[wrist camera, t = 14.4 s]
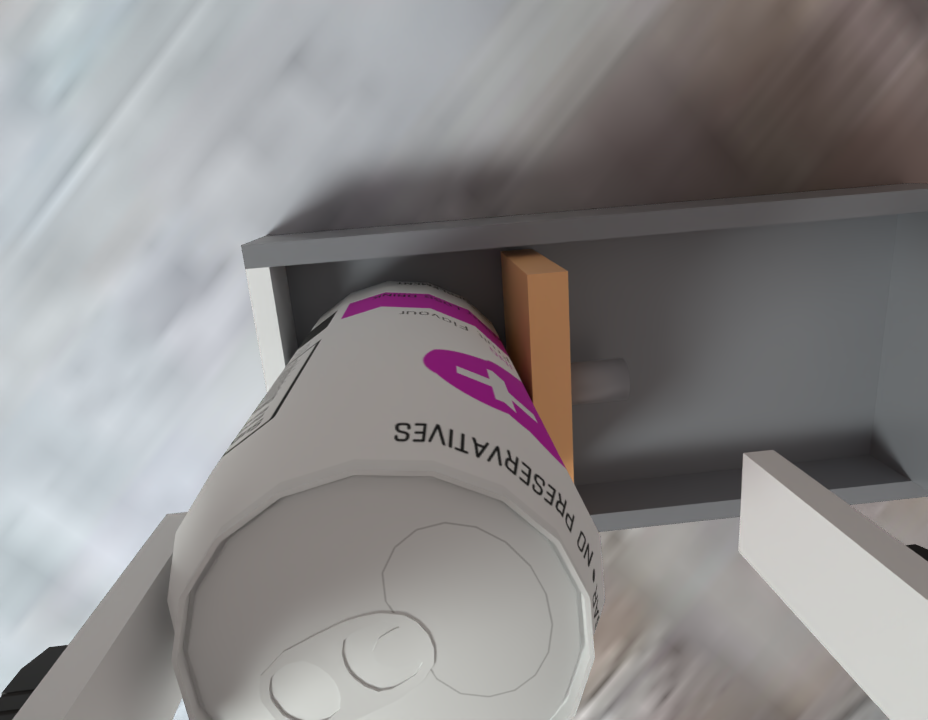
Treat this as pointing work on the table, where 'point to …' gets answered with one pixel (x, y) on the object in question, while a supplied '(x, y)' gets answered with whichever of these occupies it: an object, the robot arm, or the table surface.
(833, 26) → the table surface
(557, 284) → the pusher
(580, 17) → the table surface
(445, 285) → the pusher lane
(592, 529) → the supplement can
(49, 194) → the table surface
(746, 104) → the table surface
